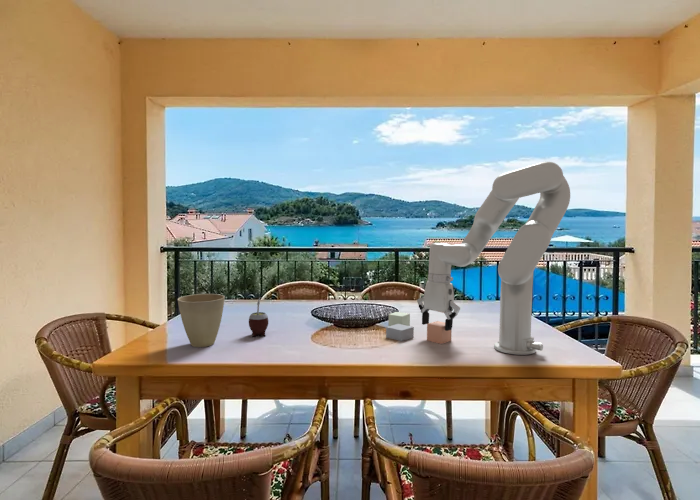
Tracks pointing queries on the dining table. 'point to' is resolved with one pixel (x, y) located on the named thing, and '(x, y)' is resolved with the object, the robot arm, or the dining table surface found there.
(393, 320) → the sage cube
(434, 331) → the terracotta cube
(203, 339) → the plant pot
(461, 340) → the dining table surface
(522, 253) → the robot arm
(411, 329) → the slate-grey block
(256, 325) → the mate gourd
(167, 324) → the dining table surface
